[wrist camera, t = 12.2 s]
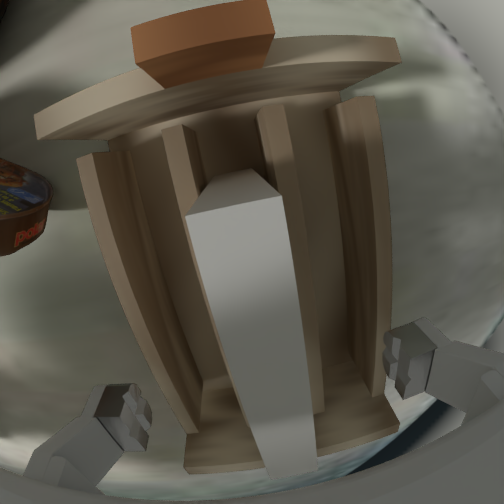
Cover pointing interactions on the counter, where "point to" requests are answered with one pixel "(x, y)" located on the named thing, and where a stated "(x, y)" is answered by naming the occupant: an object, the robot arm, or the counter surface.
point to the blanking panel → (257, 313)
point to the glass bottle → (3, 7)
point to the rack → (273, 172)
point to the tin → (21, 206)
